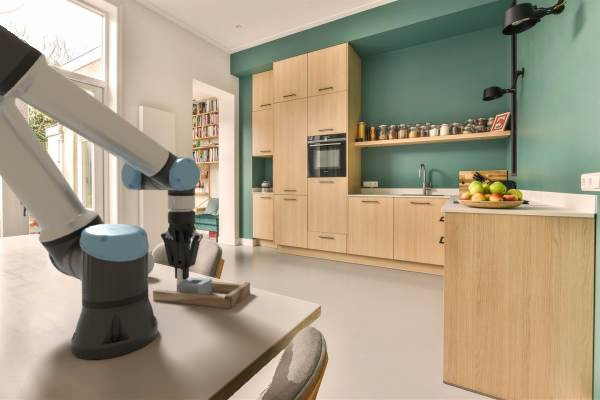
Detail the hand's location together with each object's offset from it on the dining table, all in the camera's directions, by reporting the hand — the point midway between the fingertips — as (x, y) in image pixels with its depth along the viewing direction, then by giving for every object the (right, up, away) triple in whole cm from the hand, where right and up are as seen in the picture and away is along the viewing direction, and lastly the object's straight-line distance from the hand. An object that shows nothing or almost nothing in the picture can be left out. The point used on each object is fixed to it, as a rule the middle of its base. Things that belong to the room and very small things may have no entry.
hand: (182, 289), depth 89 cm
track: (+6, -2, -2) cm, 7 cm away
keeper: (+4, -1, -1) cm, 4 cm away
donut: (-22, -1, +17) cm, 28 cm away
